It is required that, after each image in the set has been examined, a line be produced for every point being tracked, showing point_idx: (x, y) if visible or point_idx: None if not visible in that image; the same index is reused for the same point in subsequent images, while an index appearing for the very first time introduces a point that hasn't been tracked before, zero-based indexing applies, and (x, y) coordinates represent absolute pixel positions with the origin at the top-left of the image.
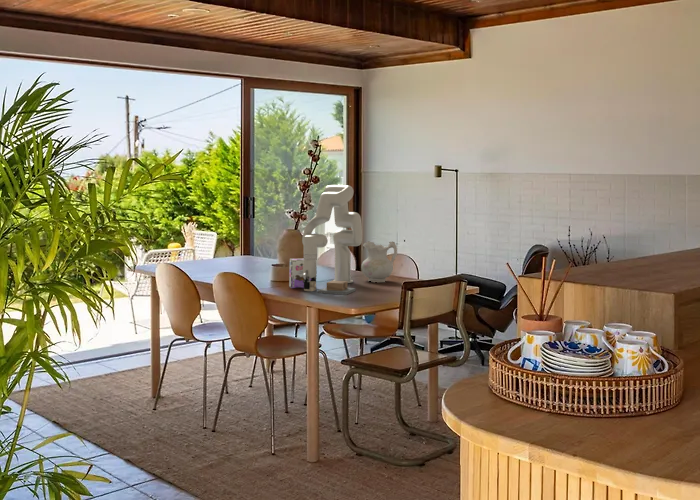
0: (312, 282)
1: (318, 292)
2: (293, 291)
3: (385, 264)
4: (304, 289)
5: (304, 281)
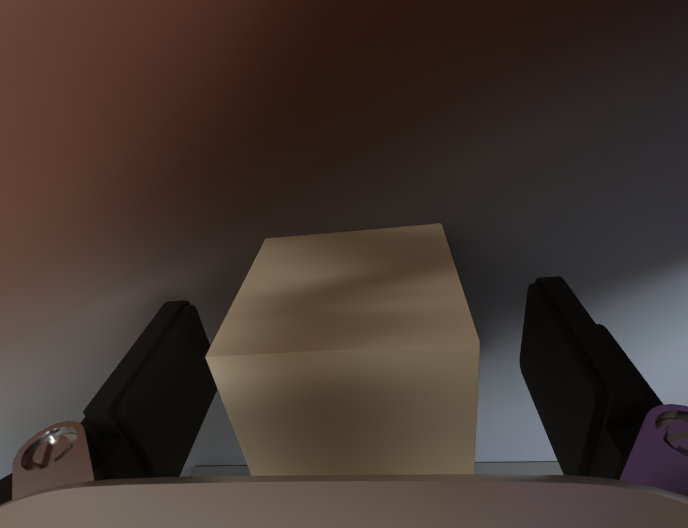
0: None
1: (192, 475)
2: (39, 100)
3: None
4: (262, 255)
5: (45, 450)
